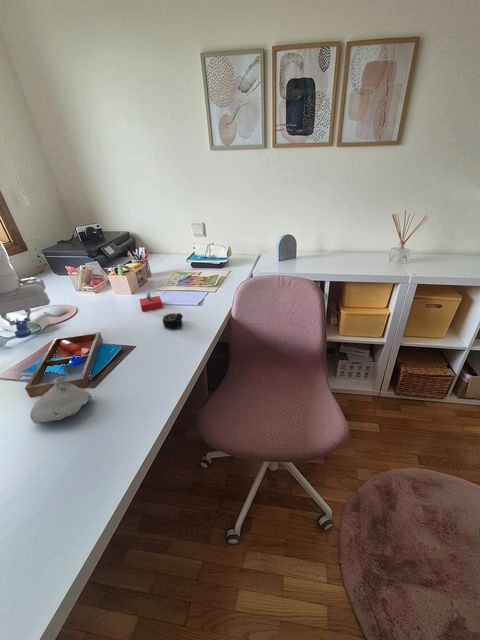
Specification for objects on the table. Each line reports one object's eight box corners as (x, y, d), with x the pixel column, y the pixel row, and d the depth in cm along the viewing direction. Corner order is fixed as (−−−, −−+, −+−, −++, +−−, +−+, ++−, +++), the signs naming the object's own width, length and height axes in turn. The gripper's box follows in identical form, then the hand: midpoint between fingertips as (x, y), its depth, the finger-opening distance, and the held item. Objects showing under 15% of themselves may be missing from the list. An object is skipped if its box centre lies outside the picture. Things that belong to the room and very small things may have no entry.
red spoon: (58, 350, 95) (54, 342, 94) (70, 344, 98) (66, 336, 97) (80, 360, 90) (77, 352, 89) (92, 353, 93) (89, 346, 92)
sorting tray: (30, 397, 78) (24, 388, 76) (58, 346, 99) (54, 338, 97) (86, 387, 81) (82, 378, 79) (102, 340, 102) (99, 332, 100)
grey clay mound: (70, 402, 80) (66, 365, 77) (103, 414, 76) (100, 375, 73) (21, 423, 69) (14, 381, 66) (57, 438, 65) (51, 395, 62)
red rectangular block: (142, 312, 119) (138, 297, 115) (141, 305, 124) (137, 291, 121) (163, 308, 122) (159, 293, 118) (160, 301, 127) (157, 287, 123)
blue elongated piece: (15, 324, 101) (12, 317, 100) (29, 321, 103) (26, 314, 102) (16, 339, 93) (12, 331, 92) (31, 335, 95) (28, 328, 94)
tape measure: (182, 329, 107) (180, 320, 104) (162, 331, 106) (160, 322, 104) (183, 320, 112) (182, 311, 110) (164, 322, 111) (162, 313, 109)
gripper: (40, 273, 99) (56, 311, 106) (-41, 286, 89) (-18, 327, 96) (42, 279, 94) (58, 318, 102) (-44, 293, 84) (-19, 335, 92)
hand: (21, 323), depth 99 cm, fingers closed on blue elongated piece, 3 cm apart
